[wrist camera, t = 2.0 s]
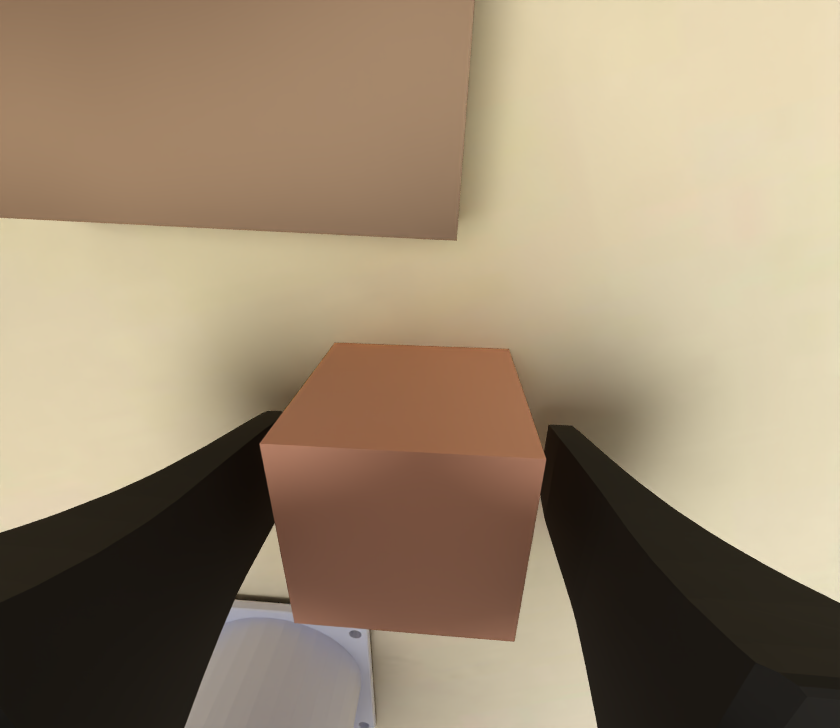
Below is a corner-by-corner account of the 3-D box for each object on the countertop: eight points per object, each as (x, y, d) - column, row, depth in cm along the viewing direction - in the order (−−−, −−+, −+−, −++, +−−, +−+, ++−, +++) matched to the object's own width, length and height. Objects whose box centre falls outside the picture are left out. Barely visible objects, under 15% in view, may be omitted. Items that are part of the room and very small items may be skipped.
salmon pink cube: (493, 485, 13) (514, 641, 9) (347, 476, 14) (294, 623, 9) (508, 348, 11) (545, 458, 7) (335, 341, 12) (259, 443, 7)
